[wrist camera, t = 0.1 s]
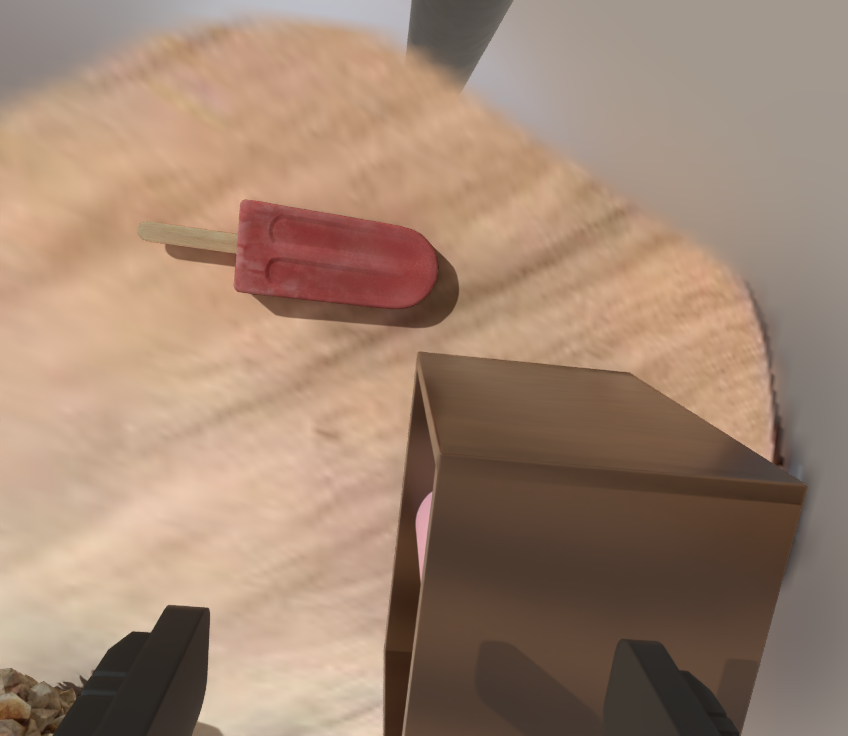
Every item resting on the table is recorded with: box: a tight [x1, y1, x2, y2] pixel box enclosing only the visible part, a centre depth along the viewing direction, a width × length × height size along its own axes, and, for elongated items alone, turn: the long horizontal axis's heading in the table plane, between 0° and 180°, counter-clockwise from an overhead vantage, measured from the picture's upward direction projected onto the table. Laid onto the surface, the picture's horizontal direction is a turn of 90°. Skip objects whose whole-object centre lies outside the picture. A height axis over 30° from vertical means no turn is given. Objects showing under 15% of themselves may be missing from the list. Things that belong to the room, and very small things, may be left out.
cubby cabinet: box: [383, 352, 808, 736], centre depth 29 cm, size 19×12×15 cm, turn 174°
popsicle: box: [137, 199, 439, 309], centre depth 32 cm, size 4×2×15 cm
